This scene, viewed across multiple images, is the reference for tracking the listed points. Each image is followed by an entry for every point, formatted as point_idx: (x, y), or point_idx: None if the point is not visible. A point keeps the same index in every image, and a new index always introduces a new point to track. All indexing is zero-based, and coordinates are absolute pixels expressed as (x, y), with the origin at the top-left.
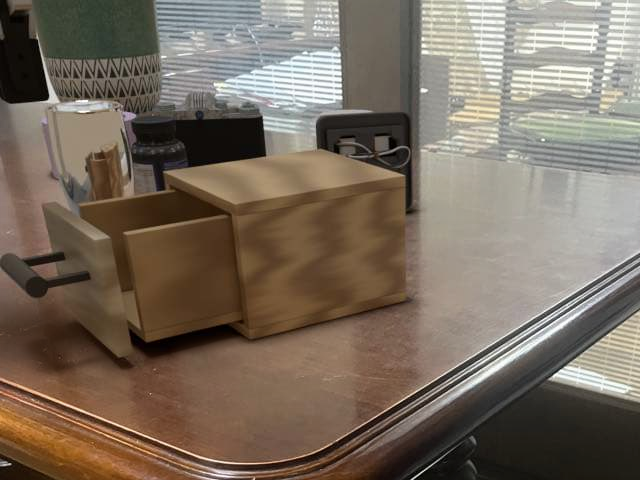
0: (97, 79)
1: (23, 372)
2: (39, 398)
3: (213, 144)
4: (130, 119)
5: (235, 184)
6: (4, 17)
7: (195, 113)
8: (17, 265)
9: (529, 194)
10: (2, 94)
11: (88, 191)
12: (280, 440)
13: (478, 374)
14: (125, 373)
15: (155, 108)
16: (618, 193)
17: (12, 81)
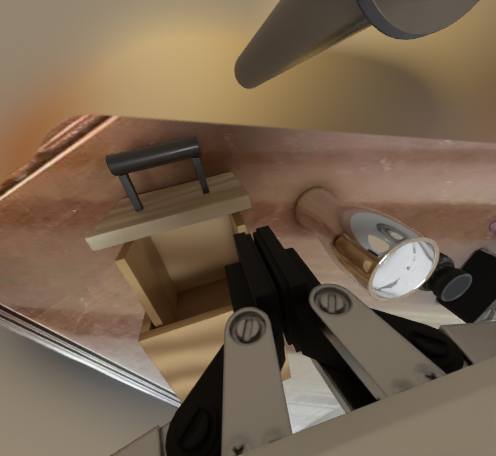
0: None
1: (135, 129)
2: (77, 137)
3: (474, 290)
4: None
5: (205, 340)
6: (189, 400)
7: None
8: (152, 154)
9: (317, 392)
10: (243, 235)
11: (329, 227)
12: None
13: (76, 356)
14: (116, 198)
15: None
16: (297, 416)
17: (240, 265)
